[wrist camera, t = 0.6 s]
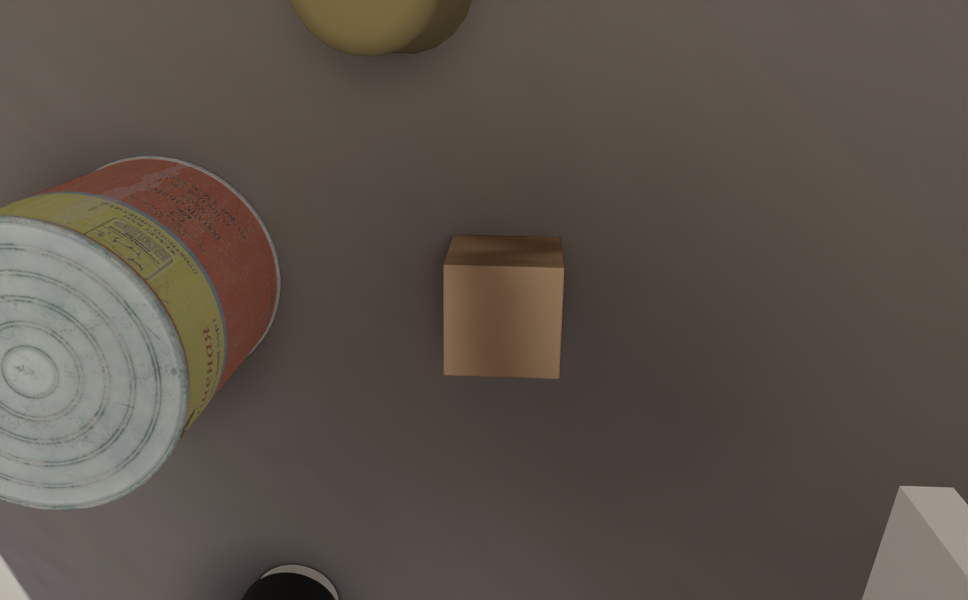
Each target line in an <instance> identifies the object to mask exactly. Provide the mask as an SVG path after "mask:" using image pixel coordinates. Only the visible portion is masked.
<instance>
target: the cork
mask: <svg viewBox="0 0 968 600" xmlns="http://www.w3.org/2000/svg"><path fill="white" fill-rule="evenodd" d="M290 2H291V5H292V8H293V9H294V11H295V12H296V14H297V15H298V17H299V18H300V19H301V21H302V22H303V24H304V25H305V27H306V28H307V30H308V31H310V32H311V33H312V34H313V35H315V36H316V37H317V38H318V39H320V40H321V41H322V42H323V43H325V44H326V45H327V46H329V47H332V48H334V49H337V50H339V51H342V52H345V53H347V54H350V55H361V56H378V55H381V54H385V53H388V52H394V53H417V52H421V51H424V50H427V49H431V48H434V47H436V46H437V45H439V44H440V43H442V42H443V41H444V40H446V39H447V38H449V37H450V36H452V35H453V33H454V32H455V31H456V29H457V28H458V27H459V25H460V24H461V23H462V21H463V20H464V19H465V17H466V15H467V12H468V9H469V6H470V3H471V0H290Z"/></svg>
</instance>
